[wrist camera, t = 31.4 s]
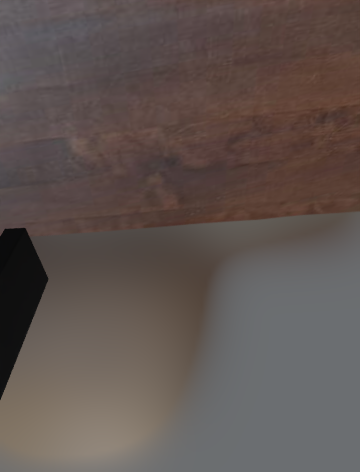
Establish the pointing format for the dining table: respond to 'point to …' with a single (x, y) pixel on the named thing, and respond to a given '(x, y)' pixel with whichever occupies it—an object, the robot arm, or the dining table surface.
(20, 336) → the robot arm
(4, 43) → the dining table surface
